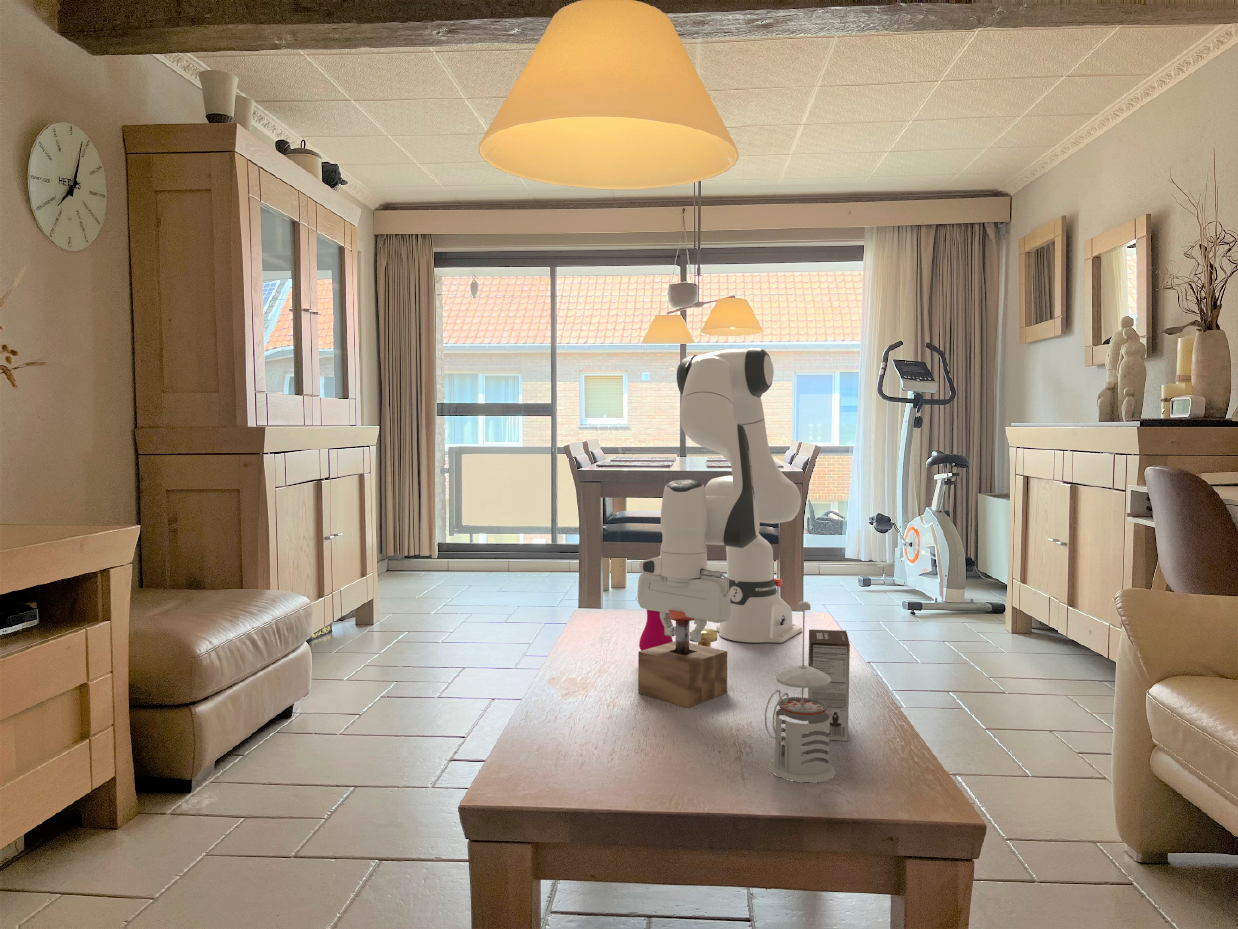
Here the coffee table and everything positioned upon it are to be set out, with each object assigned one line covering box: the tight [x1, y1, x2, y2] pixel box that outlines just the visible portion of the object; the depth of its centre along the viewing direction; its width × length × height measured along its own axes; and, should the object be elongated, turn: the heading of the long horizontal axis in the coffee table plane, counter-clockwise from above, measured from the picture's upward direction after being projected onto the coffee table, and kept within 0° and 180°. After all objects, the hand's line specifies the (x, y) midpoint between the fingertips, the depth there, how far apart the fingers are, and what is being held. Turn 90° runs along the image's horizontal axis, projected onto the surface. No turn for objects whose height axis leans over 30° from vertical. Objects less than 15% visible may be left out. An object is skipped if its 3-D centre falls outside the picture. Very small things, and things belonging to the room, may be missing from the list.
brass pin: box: [691, 628, 718, 648], centre depth 171 cm, size 5×5×9 cm
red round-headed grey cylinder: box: [669, 610, 694, 655], centre depth 159 cm, size 5×5×9 cm
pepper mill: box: [638, 609, 674, 651], centre depth 178 cm, size 7×7×20 cm
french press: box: [764, 600, 837, 784], centre depth 123 cm, size 10×12×25 cm
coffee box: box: [807, 629, 851, 742], centre depth 139 cm, size 9×6×16 cm
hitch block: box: [637, 640, 728, 709], centre depth 159 cm, size 12×12×8 cm
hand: (682, 638), depth 159 cm, fingers closed on red round-headed grey cylinder, 5 cm apart
